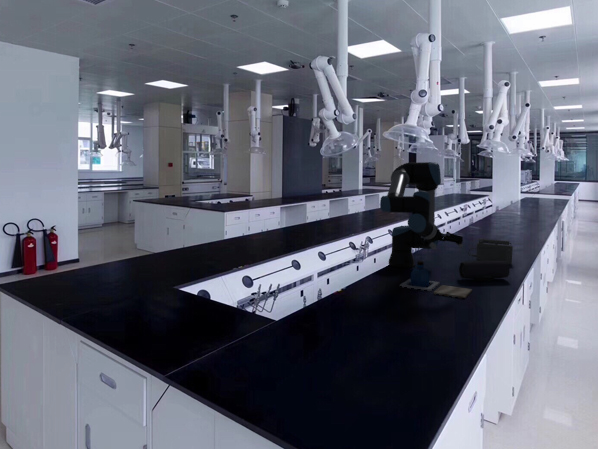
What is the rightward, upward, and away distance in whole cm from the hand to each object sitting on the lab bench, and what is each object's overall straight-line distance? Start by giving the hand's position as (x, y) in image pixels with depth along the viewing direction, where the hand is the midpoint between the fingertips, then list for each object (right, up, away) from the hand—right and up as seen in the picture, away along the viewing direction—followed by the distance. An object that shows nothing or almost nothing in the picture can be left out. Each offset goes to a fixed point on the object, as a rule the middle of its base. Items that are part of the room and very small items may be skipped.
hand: (448, 246), depth 217 cm
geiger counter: (+42, -12, +50) cm, 67 cm away
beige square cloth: (-3, -21, -13) cm, 25 cm away
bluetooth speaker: (+21, -18, +9) cm, 29 cm away
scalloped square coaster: (-14, -19, -1) cm, 24 cm away
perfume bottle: (-14, -20, -1) cm, 24 cm away
